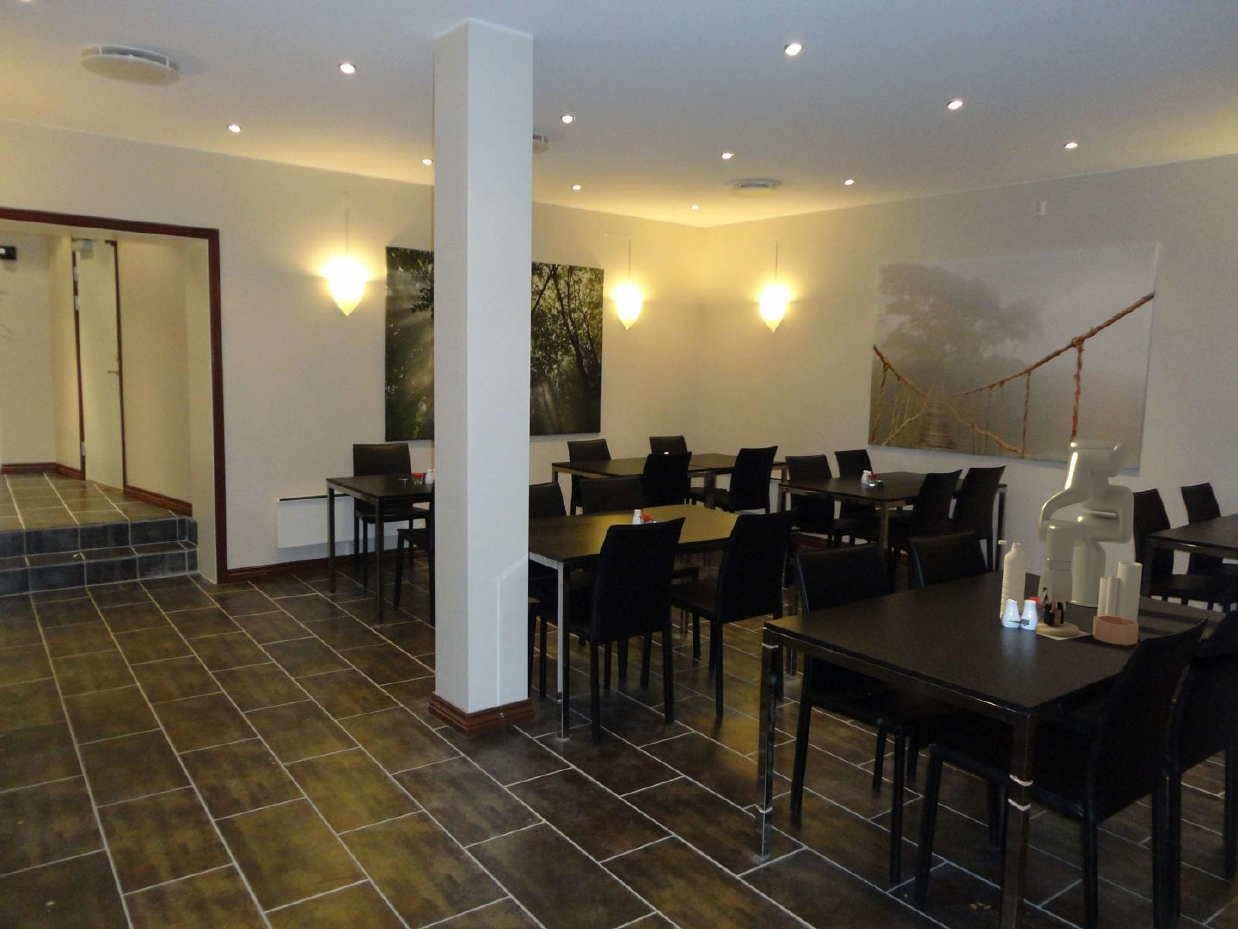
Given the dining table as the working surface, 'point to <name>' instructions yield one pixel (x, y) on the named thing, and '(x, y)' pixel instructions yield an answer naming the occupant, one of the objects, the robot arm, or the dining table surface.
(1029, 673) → the dining table surface
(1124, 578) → the candle
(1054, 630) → the lid
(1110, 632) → the bowl
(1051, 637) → the mat
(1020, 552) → the water bottle
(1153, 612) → the dining table surface
